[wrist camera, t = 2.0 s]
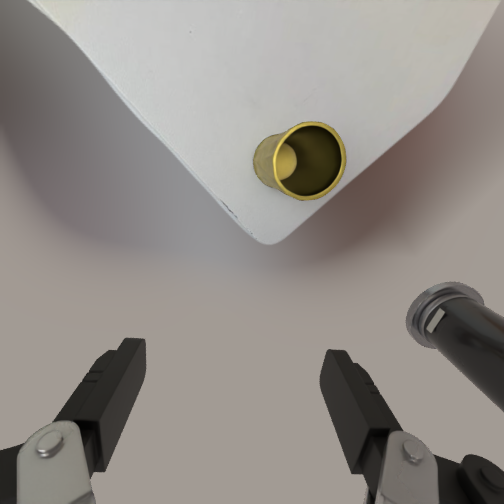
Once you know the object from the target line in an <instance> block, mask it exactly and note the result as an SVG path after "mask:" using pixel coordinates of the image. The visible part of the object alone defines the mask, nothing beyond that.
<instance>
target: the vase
mask: <svg viewBox="0 0 504 504" xmlns="http://www.w3.org/2000/svg"><path fill="white" fill-rule="evenodd" d="M253 165H254V170H255V173H256V175H257V177H258V178H259V179H260V180H261V181H262V182H263V184H265V185H267V186H270V187H272V188H276V189H278V190H280V191H281V192H283V193H284V194H286V195H289V196H291V197H293V198H295V199H297V200H301V201H303V200H315V199H318V198H321V197H323V196H325V195H326V194H327V193H329V192H330V191H331V190H332V189H333V188H334V187H335V186H336V185H337V184H338V182H339V181H340V179H341V177H342V175H343V173H344V170H345V166H346V151H345V146H344V144H343V142H342V140H341V138H340V136H339V135H338V133H337V132H336V131H335V130H334V129H333V128H332V127H330V126H328V125H327V124H324V123H322V122H313V121H310V122H302V123H300V124H298V125H296V126H294V127H292V128H290V129H288V130H287V131H285V132H284V133H281V134H277V135H272V136H270V137H268V138H266V139H264V140H263V141H262V142H261V143H260V145H259V146H258V147H257V149H256V151H255V154H254V159H253Z"/></svg>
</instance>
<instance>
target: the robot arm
mask: <svg viewBox="0 0 504 504" xmlns="http://www.w3.org/2000/svg"><path fill="white" fill-rule="evenodd" d="M419 331H420V333H421V335H422V336H423V337H424V338H425V339H426V340H427V341H428V342H429V343H430V344H432V345H433V346H434V347H435V348H436V349H438V351H440V352H441V353H442V354H443V355H444V356H445V357H446V358H447V359H448V360H449V361H450V362H451V363H452V364H453V365H454V366H455V367H456V368H457V369H458V370H460V371H461V372H462V373H463V374H464V375H465V376H466V377H467V378H468V379H469V380H470V381H471V382H472V383H473V384H474V385H475V386H476V387H478V388H479V389H480V390H481V391H482V392H483V393H484V394H485V395H486V396H487V397H488V398H489V399H490V400H491V401H492V402H493V403H495V404H496V405H497V406H498V407H499V408H500V409H501V410H502V411H503V412H504V317H502V316H501V315H499V314H497V313H495V312H494V311H492V310H490V309H489V308H487V307H485V306H484V305H482V304H480V303H479V302H478V301H476V300H475V299H473V298H471V297H470V296H468V295H466V294H462V293H451V294H447V295H444V296H441V297H439V298H438V299H436V300H434V301H433V302H432V303H430V304H429V305H428V306H427V307H426V309H425V310H424V311H423V313H422V315H421V317H420V320H419ZM145 373H146V343H145V339H141V338H140V339H139V338H125V339H124V340H123V342H122V343H121V345H120V346H119V348H118V349H117V350H108V351H107V352H106V353H104V354H103V355H102V356H101V357H99V358H98V359H97V360H96V361H95V363H94V364H93V366H92V367H91V368H90V370H89V373H87V374H86V376H85V377H84V379H83V380H82V382H81V383H80V384H79V385H78V387H77V388H76V390H75V391H74V392H73V394H72V395H71V397H70V398H69V400H68V401H67V402H66V404H65V405H64V407H63V408H62V410H61V411H60V412H59V414H58V415H57V417H56V418H55V419H54V421H53V422H52V423H51V424H49V425H46V426H45V427H43V428H41V429H39V430H38V431H37V432H35V433H34V434H33V435H32V436H30V437H29V438H28V439H27V441H26V442H25V443H23V444H20V445H17V446H14V447H11V448H7V449H3V450H0V504H96V501H95V497H94V494H93V492H92V487H91V482H90V479H91V477H92V475H93V472H105V471H106V469H107V466H108V464H109V461H110V459H111V457H112V454H113V452H114V450H115V447H116V445H117V443H118V440H119V438H120V436H121V433H122V431H123V429H124V426H125V424H126V421H127V419H128V417H129V414H130V412H131V410H132V407H133V405H134V403H135V400H136V398H137V395H138V393H139V391H140V389H141V386H142V384H143V381H144V378H145ZM320 388H321V392H322V394H323V397H324V400H325V403H326V405H327V408H328V411H329V414H330V416H331V419H332V422H333V425H334V427H335V430H336V433H337V436H338V438H339V441H340V444H341V446H342V449H343V452H344V455H345V457H346V460H347V463H348V465H349V468H350V471H351V474H363V475H364V478H365V480H366V483H367V485H368V486H367V489H366V493H365V498H364V503H363V504H504V471H502V470H501V469H500V468H499V467H498V466H496V465H495V464H493V463H492V462H490V461H489V460H487V459H485V458H483V457H480V456H477V455H472V454H469V455H466V456H465V457H464V458H463V460H462V462H461V463H460V464H459V463H456V462H454V461H451V460H448V459H445V458H442V457H439V456H436V455H434V454H432V452H431V451H430V450H429V448H428V447H427V446H426V445H425V444H424V443H423V442H422V441H421V440H419V439H418V438H417V437H415V436H413V435H411V434H410V433H407V432H404V431H403V429H402V428H401V426H400V424H399V423H398V421H397V420H396V418H395V416H394V415H393V413H392V411H391V410H390V408H389V407H388V405H387V403H386V402H385V400H384V398H383V397H382V395H380V392H379V390H378V389H377V387H376V386H375V385H374V382H373V381H372V379H371V377H370V376H369V374H368V373H367V372H366V371H365V370H364V369H363V368H362V367H361V366H360V365H359V364H358V363H353V362H352V360H351V358H350V357H349V355H348V353H347V352H346V351H345V350H331V349H329V350H327V352H326V355H325V359H324V362H323V366H322V370H321V374H320Z"/></svg>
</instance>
